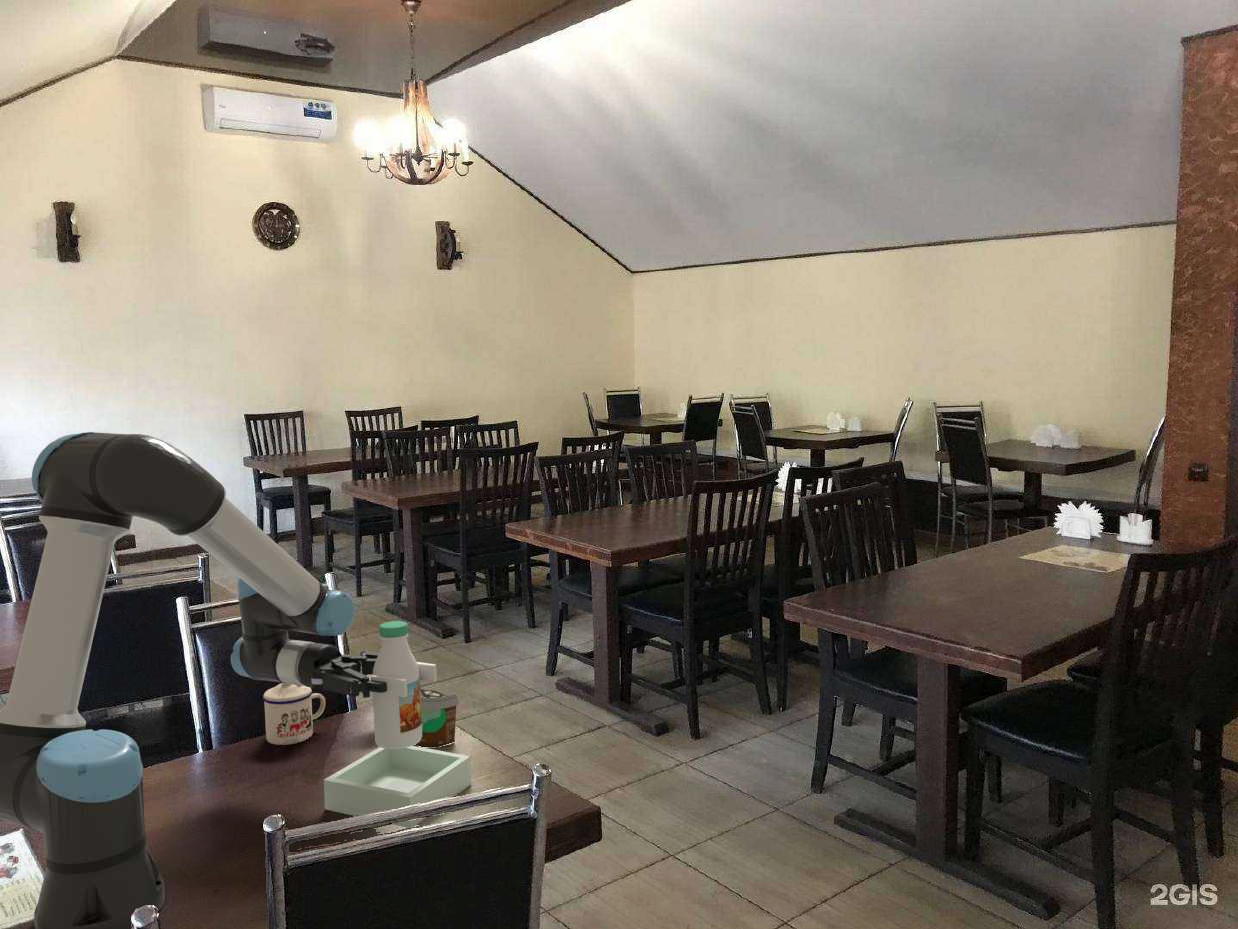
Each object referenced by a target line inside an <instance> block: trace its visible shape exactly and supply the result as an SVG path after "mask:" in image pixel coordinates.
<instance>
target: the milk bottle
mask: <svg viewBox="0 0 1238 929" xmlns="http://www.w3.org/2000/svg"><path fill="white" fill-rule="evenodd" d="M378 632H379V639H380V641H381V642H380V649H379V652H378V653H379V655H378V657H377V660H376V662H375V665H374V669H373V675H379V676H385V677H392V678H399V679H406V680H407V697H398V696H392V695H385V694H379V693H372V708H373V710H372V712H373V722H374V725H373V727H374V728H373V730H374V741H375V744H376V745H377V746H378V748H379V747H381V748H385V749H402V748H407V747H410V746H415V744H417V743H418V742H419V741H420V740H421V738H422V714H421V693H420V689H421V680H420V678H419V670H418V665H417V663H416V662H417V661H416V658H415V656H414V655H413V653H412V650H411V648H410V645H409V642H408V637H409V633H408V632H409V625H408V623H407V622H406V621H403V620H394V621H387V622H383V623H381V624H380V625H379V627H378Z"/></svg>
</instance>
